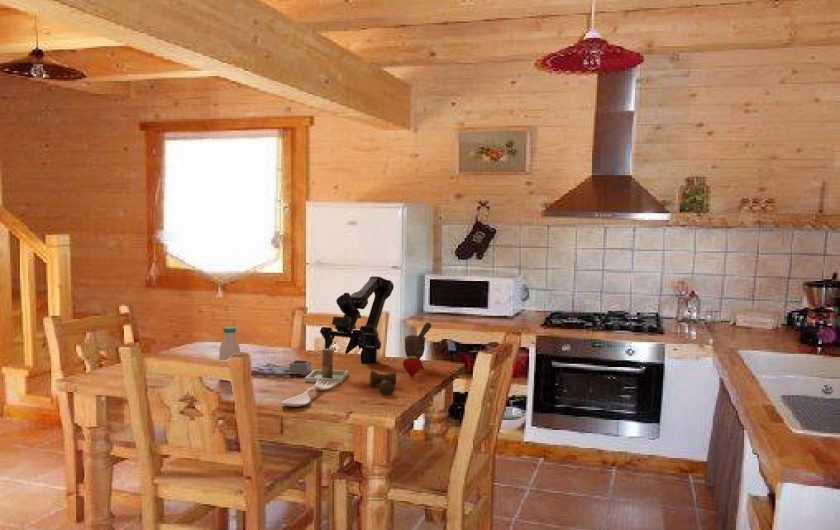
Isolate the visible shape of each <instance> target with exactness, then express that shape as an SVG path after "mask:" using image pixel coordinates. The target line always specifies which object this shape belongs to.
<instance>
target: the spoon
mask: <svg viewBox="0 0 840 530" xmlns="http://www.w3.org/2000/svg"><path fill="white" fill-rule="evenodd" d="M319 380H320V379H318V380H317V381H316V383H315V384H314V385H313V386H312V387H309V388H306V391H305V392H302V393H301V394H298V395H295V396H292V397H290V398H287V399H286V398H285V400H281V402H280V403H281V404H282V405H283V406H287V407H291V408H296V407H297V408H299V407H303V406H306V405H308V404H309V403H310V402H311V401H312V399H311V397H310V395H309V394H310V393H311V392H315V391H321V392H322V391H328V390H330V389H332V388H334V387H335V386H337V385H339V382H340V380H339V381H337V382H336V381H335V382H334V383H333V382H331V383H329V382H327V383H325V381H324V382H323V383H322V380H321V381H320V382H319Z"/></svg>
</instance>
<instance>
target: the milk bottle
mask: <svg viewBox="0 0 840 530" xmlns="http://www.w3.org/2000/svg"><path fill="white" fill-rule="evenodd" d="M236 334H237V328H236V327H234V326H227V327H223V338H222V341H221V344H220V347H219V356H218V359H219V360H227V359H229V357H230V356H231V355H232V354H234V353H240V354H241V347H240V344H239V341H238V339H237V335H236ZM221 381H222V382H228V381H227V380H221Z"/></svg>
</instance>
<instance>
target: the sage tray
mask: <svg viewBox="0 0 840 530" xmlns="http://www.w3.org/2000/svg"><path fill="white" fill-rule="evenodd" d="M349 372H350V370H340V369H339V370H338V369H337V370H336V369H333V378H322V369H312V370H311V372H310V373H309V374H308V375H305V377H304V383H315V384H316V381H317V380H318V379H320V380H319V382H320V381H321V380H322V383H323V382H324V381H325V383H324V384H326V383H327V382H329V384H330V383H331V382H333V383H334V382H335V381H336V382H337V381H339V380H340V382H339V383H338V385H339V384H340V385H341V384H343V383H344V382H345V380H346V378H348V376H349V375H350V373H349ZM322 383H321V384H322Z"/></svg>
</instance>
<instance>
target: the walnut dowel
mask: <svg viewBox="0 0 840 530" xmlns="http://www.w3.org/2000/svg"><path fill="white" fill-rule="evenodd" d="M321 350H322V351H321V352H322V358H321V360H322V363H321V370H322V378H333V370H334V369H333V368H334V367H333V363H334V361H333V360H334V356H333V355H334V349H332V348H329V349H325V348H322V349H321Z"/></svg>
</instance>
